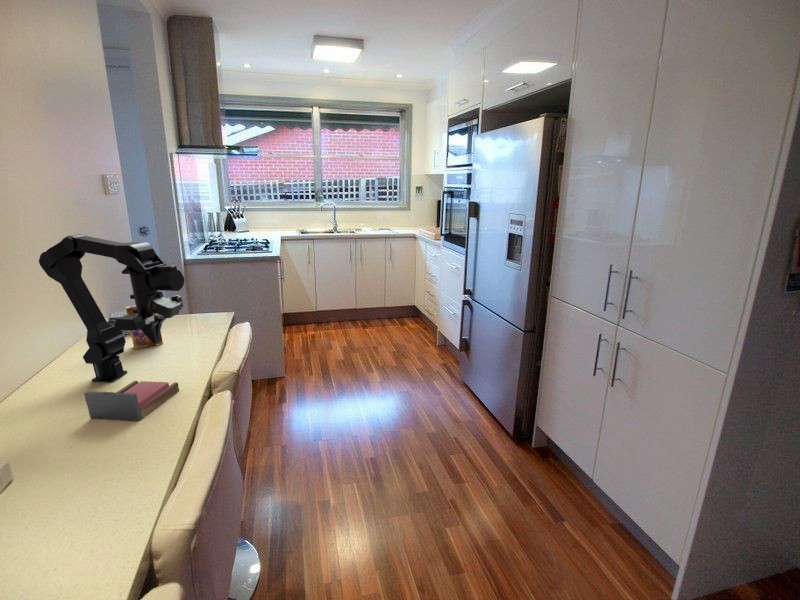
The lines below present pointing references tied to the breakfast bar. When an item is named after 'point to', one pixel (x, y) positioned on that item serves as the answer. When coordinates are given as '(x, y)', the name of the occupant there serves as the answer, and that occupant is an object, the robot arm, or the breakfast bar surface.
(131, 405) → the bookend
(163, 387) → the pink rectangular block
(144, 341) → the candy box
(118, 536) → the breakfast bar surface
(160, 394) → the slot rails
